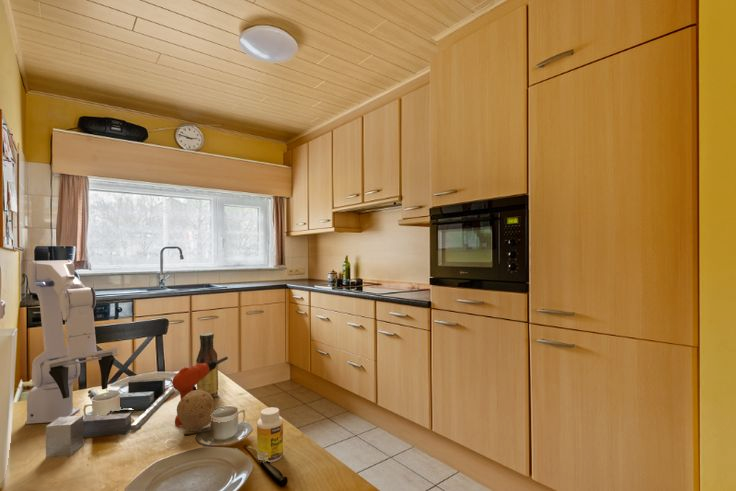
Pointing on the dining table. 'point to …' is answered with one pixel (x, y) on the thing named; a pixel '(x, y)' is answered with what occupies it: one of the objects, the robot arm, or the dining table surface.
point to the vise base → (119, 420)
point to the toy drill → (192, 379)
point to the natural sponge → (195, 410)
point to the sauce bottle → (204, 356)
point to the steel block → (64, 436)
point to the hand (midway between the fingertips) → (85, 393)
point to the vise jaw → (142, 393)
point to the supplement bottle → (270, 435)
